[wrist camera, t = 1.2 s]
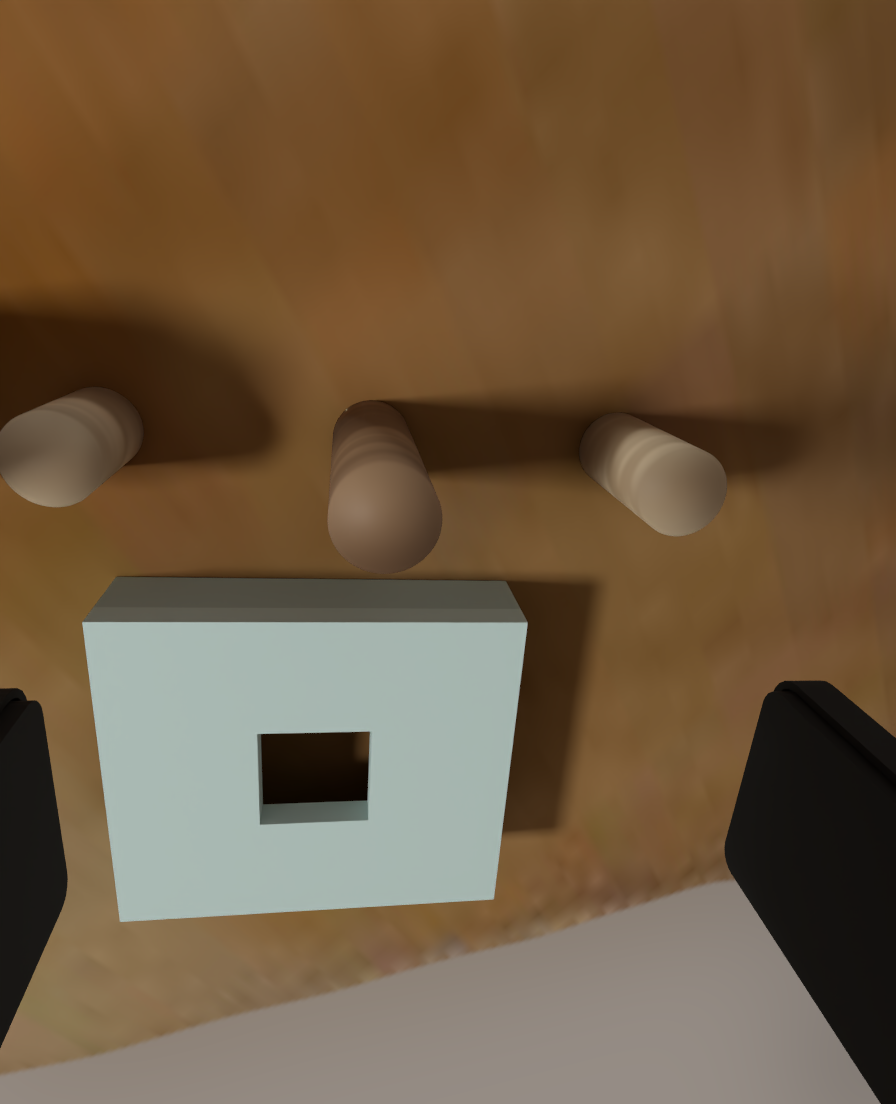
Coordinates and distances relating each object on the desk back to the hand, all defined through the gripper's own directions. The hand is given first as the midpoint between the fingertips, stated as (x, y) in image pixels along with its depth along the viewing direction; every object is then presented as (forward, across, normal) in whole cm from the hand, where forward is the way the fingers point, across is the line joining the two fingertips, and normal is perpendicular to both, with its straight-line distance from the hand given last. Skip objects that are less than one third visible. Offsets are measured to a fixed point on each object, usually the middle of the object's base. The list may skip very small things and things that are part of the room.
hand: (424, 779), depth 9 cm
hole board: (+20, +2, +13) cm, 24 cm away
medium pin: (+20, -10, 0) cm, 22 cm away
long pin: (+20, 0, 0) cm, 20 cm away
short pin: (+20, +10, 0) cm, 22 cm away
